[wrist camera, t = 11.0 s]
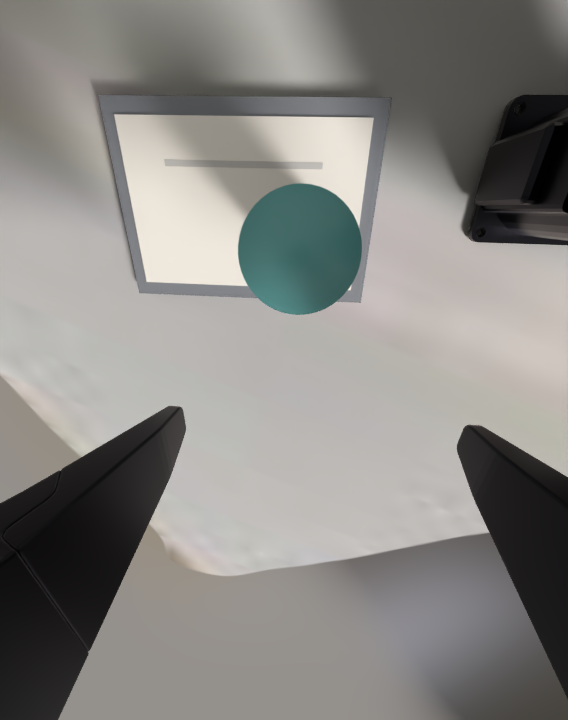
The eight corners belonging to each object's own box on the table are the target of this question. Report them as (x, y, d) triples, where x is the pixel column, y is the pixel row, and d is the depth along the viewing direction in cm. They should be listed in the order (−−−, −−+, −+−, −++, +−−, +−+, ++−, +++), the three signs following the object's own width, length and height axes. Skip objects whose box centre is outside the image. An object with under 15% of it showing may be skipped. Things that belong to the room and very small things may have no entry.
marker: (336, 196, 16) (371, 185, 8) (329, 265, 17) (353, 316, 9) (270, 194, 16) (234, 181, 8) (269, 263, 17) (241, 312, 9)
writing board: (386, 104, 15) (392, 96, 14) (358, 298, 19) (361, 303, 18) (109, 101, 15) (94, 93, 14) (146, 289, 20) (137, 293, 19)
